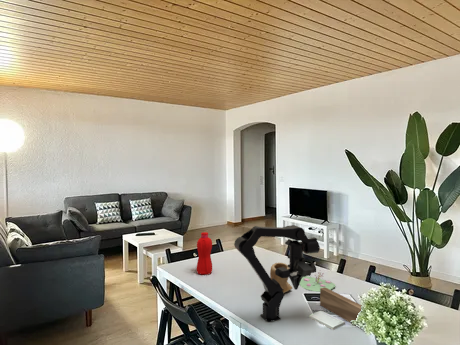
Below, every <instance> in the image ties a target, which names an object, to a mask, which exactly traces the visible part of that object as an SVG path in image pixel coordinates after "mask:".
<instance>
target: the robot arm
mask: <svg viewBox="0 0 460 345" xmlns="http://www.w3.org/2000/svg"><path fill="white" fill-rule="evenodd" d="M261 237H268V238H269V237H270V238H287V239H288V240H286V241H285V242H284V244H285V245H287V246H288V247H289V255H287V259H289V264H287V265H288V267H289V268H290V269H286V268H284V267H281V268H277V269H276V270H275V274H276V275H277V276H279V277H281V278H288V279H290V282H291V285H292V288H293V289H294V291H295V290H298V289H299V286H300V281H301V279H302V277H305V276H308V277H311V276H312V275H311V274H313V273H316V272H317V266H316V265H315V263H314V262H306V258H305V257H304V254H317V253H319V252H320V249H321V247H320V244H319V242H318V238H316V237H310V238H309V237H307V235H306V233H305V229H304V228H303V227H301V226H298V225H295V224H292V225H286V226H282V227H277V226H276V227H275V226H257V225H254V226H252V228H251V229H249V230H247V231H246V232H245V233H243V234H241V236H239V237H236V239H235V241H234V243H233V245H234V248H235V249H236V250H237V251H238V252H239V253H240V254H241V255H242V256H243V257H244V258H245V260H247V262H248V263H249V265H250V266H251V268H252V270H254V272H255V274H256V275H257V276H258V278H259V280H260V281H261V282H262V285H263V289H264V292H262V294H261V295H260V298H261V300H262V301H263V303H262V314H260V317H261V318H263V319H264V320H265V322H267V323H271V322H274V321H275V322H276V321H279V320H281V316H280V307H281V304H282V301H283V299H284V297H285V293H284V292H283V291H284V290H283V289H282V288H281V286H280V284H279V282H277V281H276V280H275V279H274V278H273V279H272V280H271V277H270V274H268V272H267V271H266V269H265V267H264V266H263V264H262V262H260V260H259V259H258V257H257V256H256V254H255V253H256V251H255V249H254V247H255V245H256V244H257V242H258V241H259V239H260V238H261ZM303 252H304V254H303Z"/></svg>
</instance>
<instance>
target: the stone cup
mask: <svg viewBox="0 0 460 345" xmlns="http://www.w3.org/2000/svg"><path fill="white" fill-rule="evenodd" d="M288 265H289V264H286V263H285V262H275V263H274V264H272V265H271V266H270V271H269V277H270V278H271V280H272V279H273V278H274V279H275V280H276V281H277V282H279V284H280V286H281V288H282V289H283V290H284V291H283V292H284V294H285V293H286V292H289V291H291V290H292V289H293V285H292V284H291V285H290V283H289V282H288V280H289V277H288V278H281V277H279V276H277V275H276V274H275V270H276V269H277V268H281V267H284V268H286V269H290V268H289V267H288Z"/></svg>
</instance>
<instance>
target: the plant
mask: <svg viewBox="0 0 460 345" xmlns="http://www.w3.org/2000/svg"><path fill="white" fill-rule="evenodd" d="M324 274H325V273H324V272H323V273H322V272H321V273H320V271H319V272H317V274H314V276H315V277H313V276H305V277H302V279H301V281H300V284H299V286H300V287H301V288H303V289H304V290H308V291H310V292H318V293H320V288H324V287H325V288H328V289H330V290H333V289H334V288H336V284H335V283H334V282H331V281H330V280H325V279H323V276H324Z"/></svg>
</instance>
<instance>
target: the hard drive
mask: <svg viewBox="0 0 460 345" xmlns="http://www.w3.org/2000/svg"><path fill="white" fill-rule="evenodd" d="M308 318H309V319H311V320H312V321H315V322H317V323H318V322H319V323H318V324H320V323H321V324H320V325H322V324H323V325H322V326H324V325H325V326H324V327H326V328H328V329H331V330H332V331H334V330H336V329H338V328H341V327H343V326H346V322H345V321H344V320H342V319H340V318H337V317H335V316H333V315H331V314H329V313H327V312H325V311H323V310H319V311H315V312H314V313H312V314H310V315H308Z"/></svg>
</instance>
